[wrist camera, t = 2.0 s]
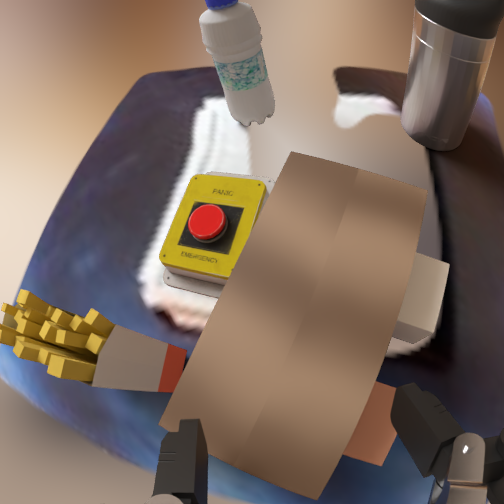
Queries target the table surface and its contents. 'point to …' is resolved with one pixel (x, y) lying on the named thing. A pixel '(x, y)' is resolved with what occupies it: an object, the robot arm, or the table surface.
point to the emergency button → (212, 230)
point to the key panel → (302, 323)
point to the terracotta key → (374, 427)
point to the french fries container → (89, 347)
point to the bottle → (238, 59)
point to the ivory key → (421, 299)
